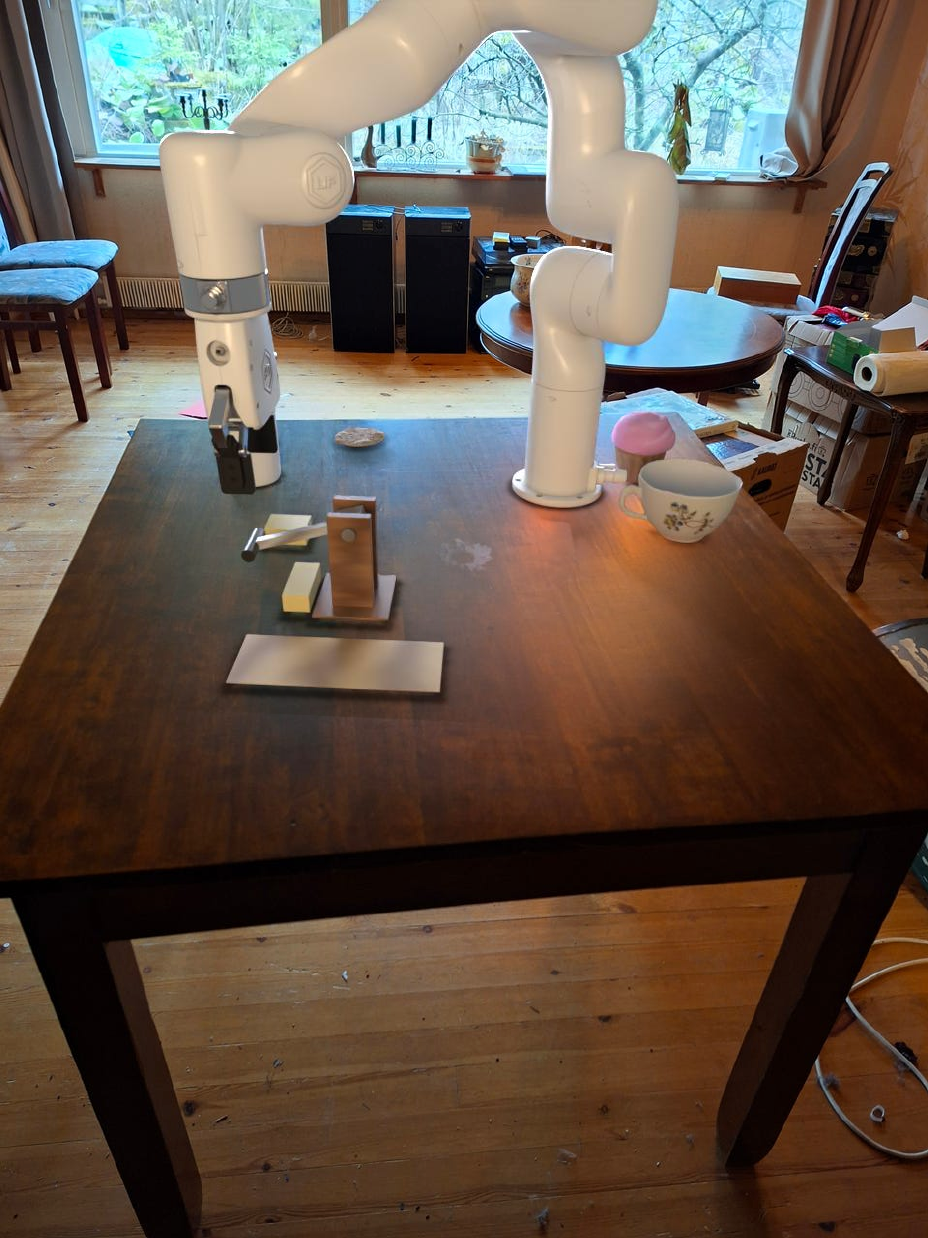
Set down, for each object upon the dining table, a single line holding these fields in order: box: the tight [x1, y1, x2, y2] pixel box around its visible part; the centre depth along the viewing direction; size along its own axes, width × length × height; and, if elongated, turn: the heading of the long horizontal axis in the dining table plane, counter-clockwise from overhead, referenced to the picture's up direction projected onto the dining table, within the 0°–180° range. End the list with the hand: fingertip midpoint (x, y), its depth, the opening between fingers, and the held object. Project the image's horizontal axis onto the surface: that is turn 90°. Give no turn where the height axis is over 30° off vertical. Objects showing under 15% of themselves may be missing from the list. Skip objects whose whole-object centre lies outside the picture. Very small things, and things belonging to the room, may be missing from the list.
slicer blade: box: [240, 505, 366, 563], centre depth 86 cm, size 13×5×2 cm, turn 88°
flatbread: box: [334, 427, 386, 448], centre depth 130 cm, size 8×8×1 cm
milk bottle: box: [228, 408, 282, 488], centre depth 112 cm, size 8×8×20 cm
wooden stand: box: [311, 494, 398, 622], centre depth 88 cm, size 8×9×12 cm
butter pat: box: [263, 513, 313, 546], centre depth 101 cm, size 5×4×3 cm
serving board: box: [225, 633, 445, 693], centre depth 81 cm, size 20×8×1 cm, turn 88°
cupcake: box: [610, 410, 676, 484], centre depth 119 cm, size 9×9×10 cm
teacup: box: [618, 457, 744, 544], centre depth 105 cm, size 15×12×8 cm
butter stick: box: [281, 561, 322, 613], centre depth 90 cm, size 3×7×3 cm, turn 178°
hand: (251, 471), depth 83 cm, fingers open, 9 cm apart
